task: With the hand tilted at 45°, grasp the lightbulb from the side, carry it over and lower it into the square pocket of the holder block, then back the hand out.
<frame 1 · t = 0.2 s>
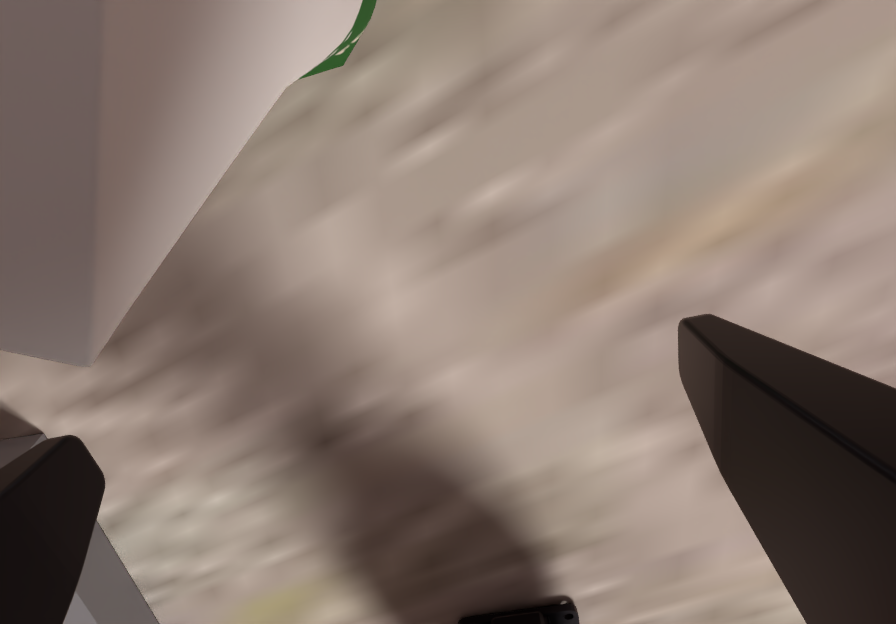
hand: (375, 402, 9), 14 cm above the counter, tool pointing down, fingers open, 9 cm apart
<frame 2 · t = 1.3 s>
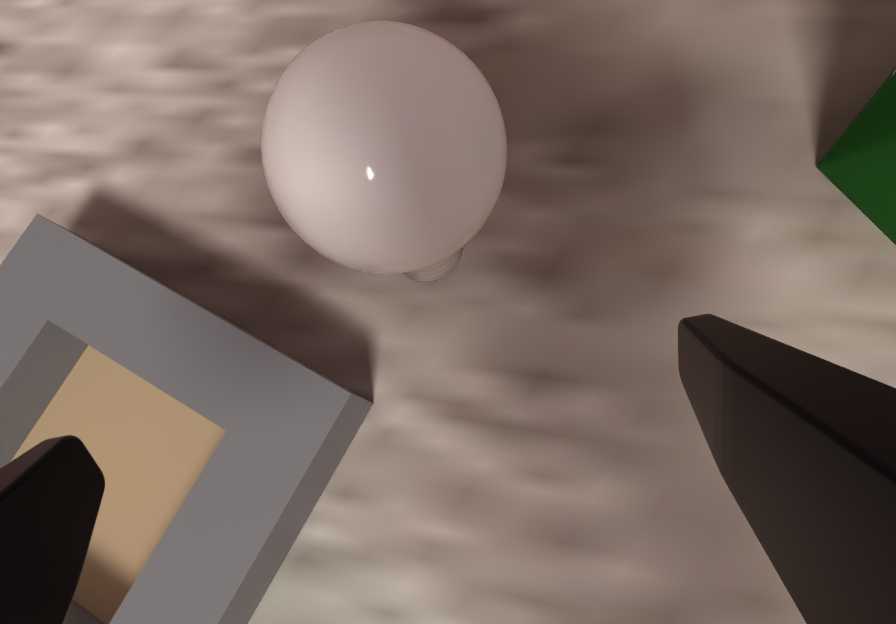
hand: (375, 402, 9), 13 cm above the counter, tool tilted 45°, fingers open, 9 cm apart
lightbulb: (430, 255, 24), on the counter
holder: (121, 478, 23), on the counter
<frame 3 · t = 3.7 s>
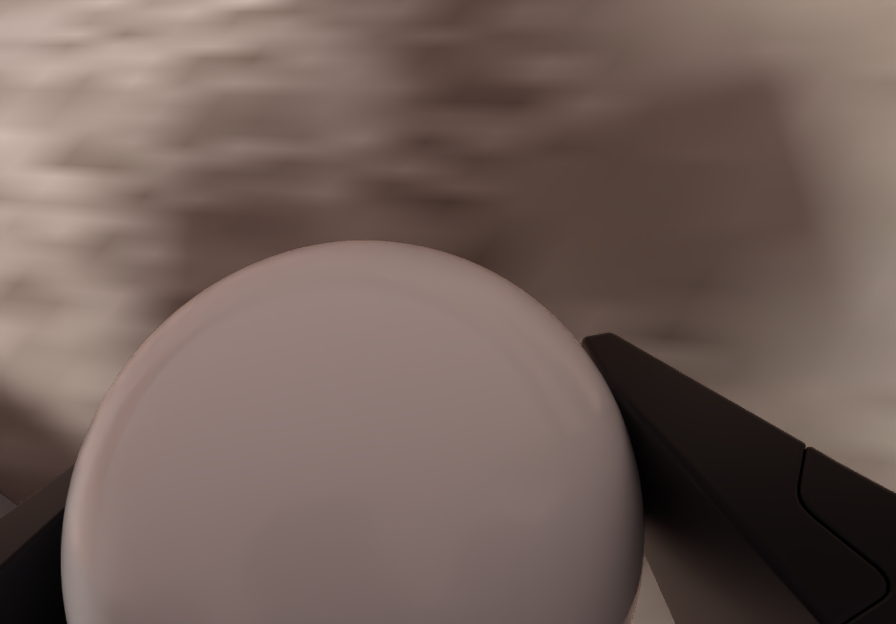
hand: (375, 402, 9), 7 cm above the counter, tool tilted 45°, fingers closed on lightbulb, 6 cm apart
lightbulb: (447, 487, 15), on the counter, touching gripper
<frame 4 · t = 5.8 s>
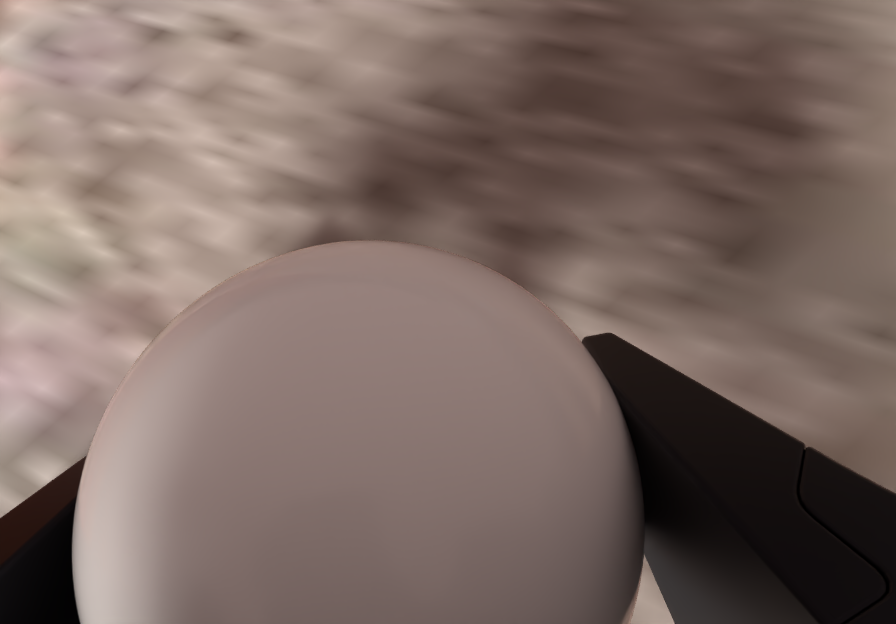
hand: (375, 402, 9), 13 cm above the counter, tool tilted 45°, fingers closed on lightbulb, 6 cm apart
lightbulb: (457, 481, 15), point 6 cm above the counter, touching gripper
when the fingers open (8 cm above the counter, at t = 7.8 s): lightbulb drops 1 cm, resting on holder.
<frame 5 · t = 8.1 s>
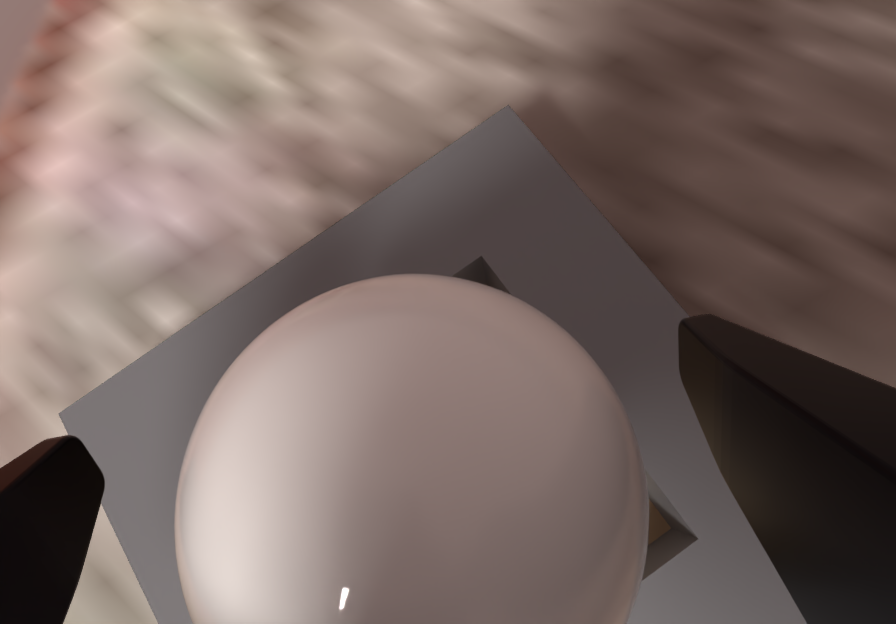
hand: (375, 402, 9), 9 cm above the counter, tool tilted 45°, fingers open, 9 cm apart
lightbulb: (469, 482, 17), resting on holder
holder: (454, 485, 17), on the counter
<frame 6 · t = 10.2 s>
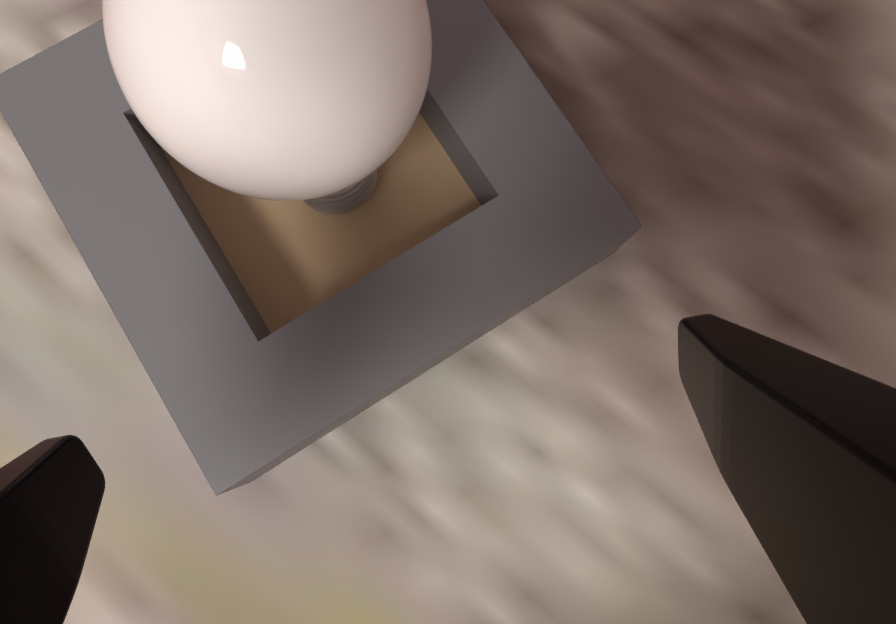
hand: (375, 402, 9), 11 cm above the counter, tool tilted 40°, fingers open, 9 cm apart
lightbulb: (339, 184, 21), resting on holder
holder: (328, 189, 21), on the counter
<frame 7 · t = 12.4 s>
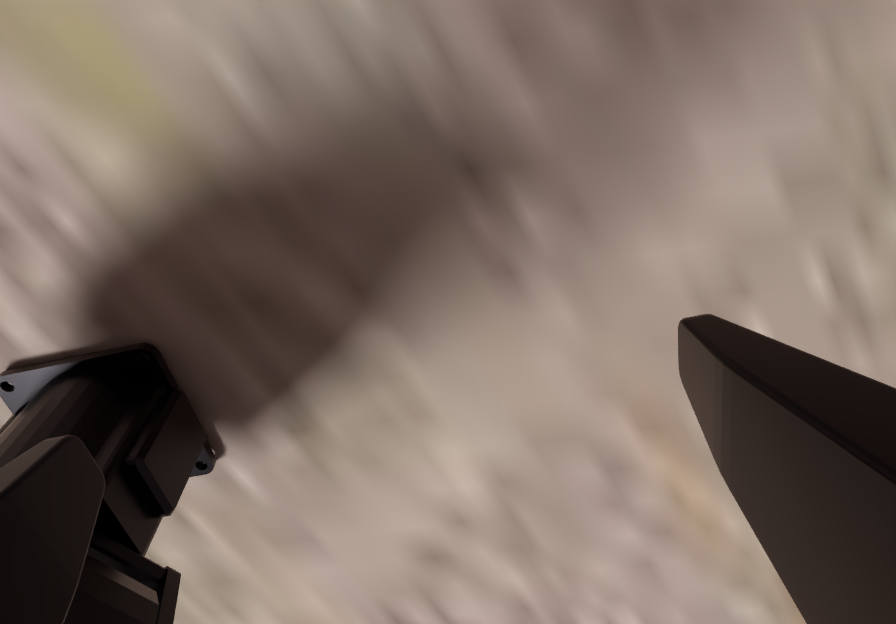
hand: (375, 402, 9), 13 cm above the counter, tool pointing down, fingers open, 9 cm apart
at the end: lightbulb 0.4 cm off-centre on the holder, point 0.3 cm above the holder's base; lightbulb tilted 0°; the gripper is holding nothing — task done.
